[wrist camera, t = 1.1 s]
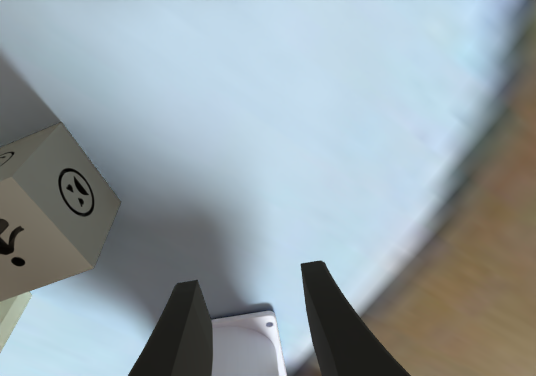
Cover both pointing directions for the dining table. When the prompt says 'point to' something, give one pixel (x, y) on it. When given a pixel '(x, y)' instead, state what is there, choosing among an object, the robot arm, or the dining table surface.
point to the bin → (11, 315)
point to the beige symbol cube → (50, 211)
